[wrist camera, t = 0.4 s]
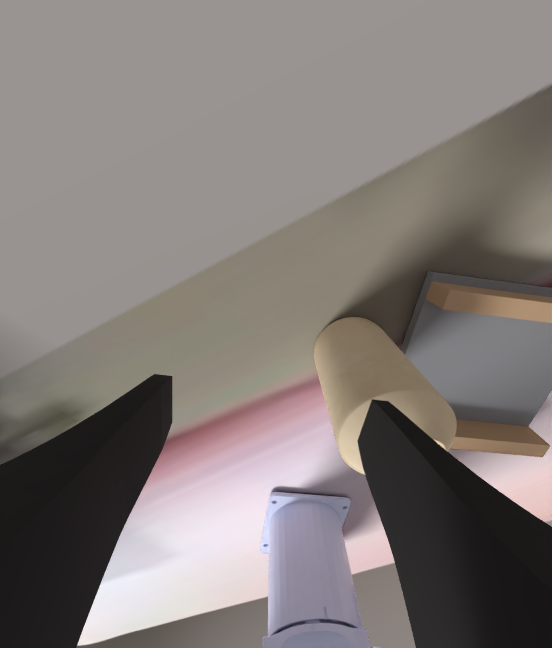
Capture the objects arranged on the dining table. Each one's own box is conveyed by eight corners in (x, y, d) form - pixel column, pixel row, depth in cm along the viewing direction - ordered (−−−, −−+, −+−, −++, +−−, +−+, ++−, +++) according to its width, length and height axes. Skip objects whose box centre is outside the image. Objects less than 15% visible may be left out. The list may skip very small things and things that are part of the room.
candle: (362, 300, 19) (445, 388, 10) (399, 354, 21) (499, 471, 12) (298, 344, 20) (319, 457, 11) (338, 391, 22) (385, 523, 13)
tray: (510, 434, 24) (539, 461, 22) (374, 421, 23) (387, 447, 21) (598, 294, 19) (649, 307, 16) (428, 271, 18) (453, 281, 16)
